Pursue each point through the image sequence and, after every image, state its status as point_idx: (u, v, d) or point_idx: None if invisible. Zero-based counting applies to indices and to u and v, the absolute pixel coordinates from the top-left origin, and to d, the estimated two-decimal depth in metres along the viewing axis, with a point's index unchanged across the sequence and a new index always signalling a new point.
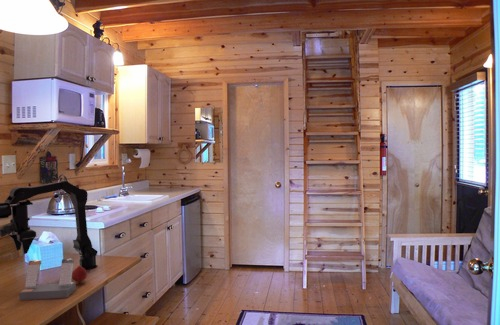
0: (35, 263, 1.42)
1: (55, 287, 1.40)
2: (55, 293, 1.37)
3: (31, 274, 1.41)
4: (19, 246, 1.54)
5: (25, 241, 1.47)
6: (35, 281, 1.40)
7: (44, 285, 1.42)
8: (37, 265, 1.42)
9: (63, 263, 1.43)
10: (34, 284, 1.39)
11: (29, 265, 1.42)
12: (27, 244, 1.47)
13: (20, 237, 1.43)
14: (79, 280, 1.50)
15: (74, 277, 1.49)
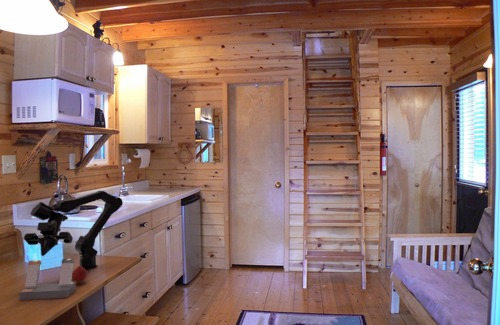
0: (35, 263, 1.42)
1: (55, 287, 1.40)
2: (55, 293, 1.37)
3: (31, 274, 1.41)
4: None
5: (49, 243, 1.53)
6: (35, 281, 1.40)
7: (44, 285, 1.42)
8: (37, 265, 1.42)
9: (63, 263, 1.43)
10: (34, 284, 1.39)
11: (29, 265, 1.42)
12: (49, 247, 1.52)
13: (67, 234, 1.53)
14: (79, 280, 1.50)
15: (74, 277, 1.49)
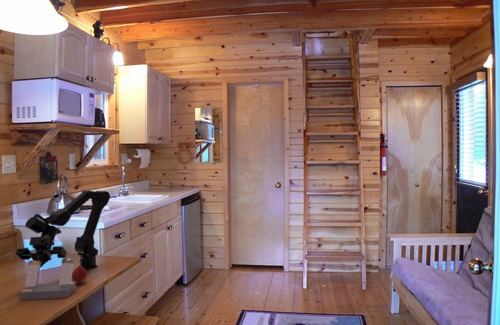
0: (35, 263, 1.42)
1: (55, 287, 1.40)
2: (55, 293, 1.37)
3: (31, 274, 1.40)
4: None
5: (42, 259, 1.46)
6: (35, 281, 1.40)
7: (44, 285, 1.42)
8: (37, 265, 1.42)
9: (63, 263, 1.43)
10: (34, 284, 1.39)
11: (29, 265, 1.42)
12: (42, 263, 1.46)
13: (61, 249, 1.47)
14: (79, 280, 1.50)
15: (74, 277, 1.49)
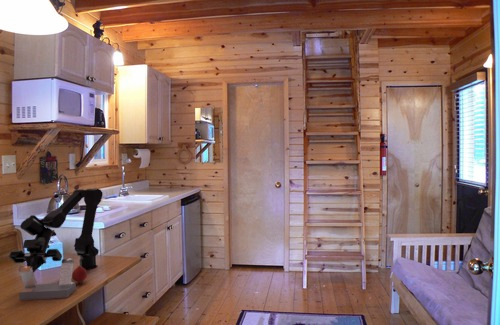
0: (25, 271, 1.35)
1: (55, 287, 1.40)
2: (55, 293, 1.37)
3: (27, 279, 1.37)
4: None
5: (36, 262, 1.42)
6: (33, 284, 1.38)
7: (44, 285, 1.42)
8: (29, 272, 1.36)
9: (63, 263, 1.43)
10: (33, 286, 1.39)
11: (20, 272, 1.35)
12: (36, 266, 1.42)
13: (56, 252, 1.42)
14: (79, 280, 1.50)
15: (74, 277, 1.49)
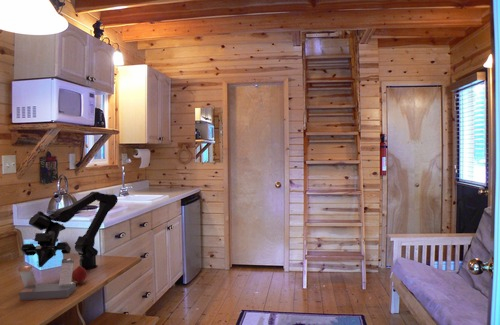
0: (26, 271, 1.35)
1: (55, 287, 1.40)
2: (55, 293, 1.37)
3: (27, 279, 1.37)
4: None
5: None
6: (33, 284, 1.38)
7: (44, 285, 1.42)
8: (29, 272, 1.36)
9: (63, 263, 1.43)
10: (33, 286, 1.39)
11: (20, 272, 1.35)
12: (47, 258, 1.50)
13: (65, 245, 1.51)
14: (79, 280, 1.50)
15: (74, 277, 1.49)
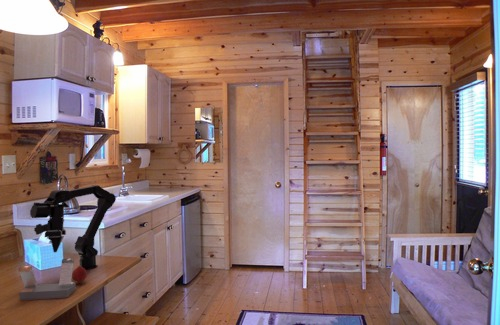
0: (26, 271, 1.35)
1: (55, 287, 1.40)
2: (55, 293, 1.37)
3: (27, 279, 1.37)
4: None
5: (54, 240, 1.57)
6: (33, 284, 1.38)
7: (44, 285, 1.42)
8: (29, 272, 1.36)
9: (63, 263, 1.43)
10: (33, 286, 1.39)
11: (20, 272, 1.35)
12: (56, 243, 1.57)
13: (45, 235, 1.50)
14: (79, 280, 1.50)
15: (74, 277, 1.49)
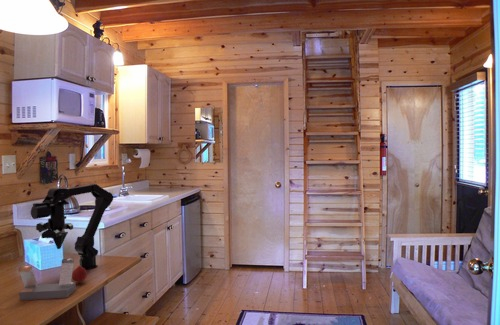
0: (26, 271, 1.35)
1: (55, 287, 1.40)
2: (55, 293, 1.37)
3: (27, 279, 1.37)
4: None
5: (56, 237, 1.59)
6: (33, 284, 1.38)
7: (44, 285, 1.42)
8: (29, 272, 1.36)
9: (63, 263, 1.43)
10: (33, 286, 1.39)
11: (20, 272, 1.35)
12: (58, 240, 1.59)
13: (41, 236, 1.51)
14: (79, 280, 1.50)
15: (74, 277, 1.49)
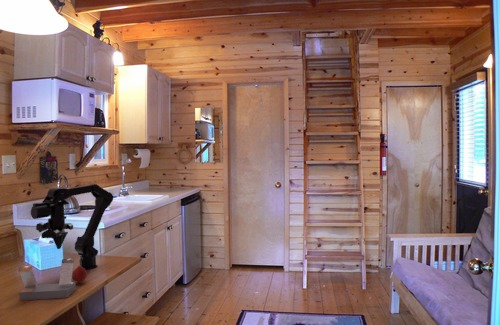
0: (26, 271, 1.35)
1: (55, 287, 1.40)
2: (55, 293, 1.37)
3: (27, 279, 1.37)
4: None
5: (56, 237, 1.59)
6: (33, 284, 1.38)
7: (44, 285, 1.42)
8: (29, 272, 1.36)
9: (63, 263, 1.43)
10: (33, 286, 1.39)
11: (20, 272, 1.35)
12: (58, 240, 1.59)
13: (41, 236, 1.51)
14: (79, 280, 1.50)
15: (74, 277, 1.49)
